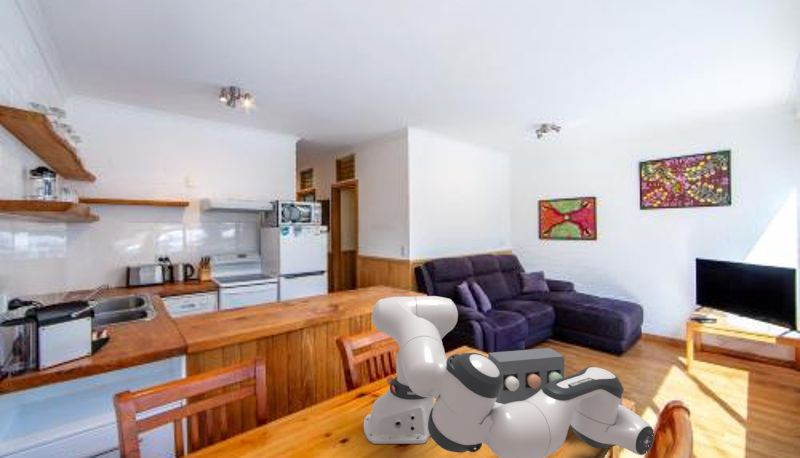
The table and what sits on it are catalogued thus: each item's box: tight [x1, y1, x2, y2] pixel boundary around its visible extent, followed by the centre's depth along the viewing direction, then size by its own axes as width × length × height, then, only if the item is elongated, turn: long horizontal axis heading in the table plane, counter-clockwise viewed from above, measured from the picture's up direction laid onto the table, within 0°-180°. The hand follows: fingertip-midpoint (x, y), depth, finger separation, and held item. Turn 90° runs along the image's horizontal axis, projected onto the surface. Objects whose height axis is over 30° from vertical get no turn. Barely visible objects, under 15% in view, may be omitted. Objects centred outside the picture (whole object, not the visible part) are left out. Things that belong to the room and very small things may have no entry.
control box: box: [487, 347, 565, 404], centre depth 120 cm, size 24×8×16 cm, turn 102°
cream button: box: [504, 376, 519, 391], centre depth 114 cm, size 4×2×4 cm, turn 102°
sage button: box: [548, 371, 562, 382], centre depth 117 cm, size 4×2×4 cm, turn 102°
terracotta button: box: [526, 373, 541, 389], centre depth 115 cm, size 4×2×4 cm, turn 102°
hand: (564, 384), depth 113 cm, fingers closed
